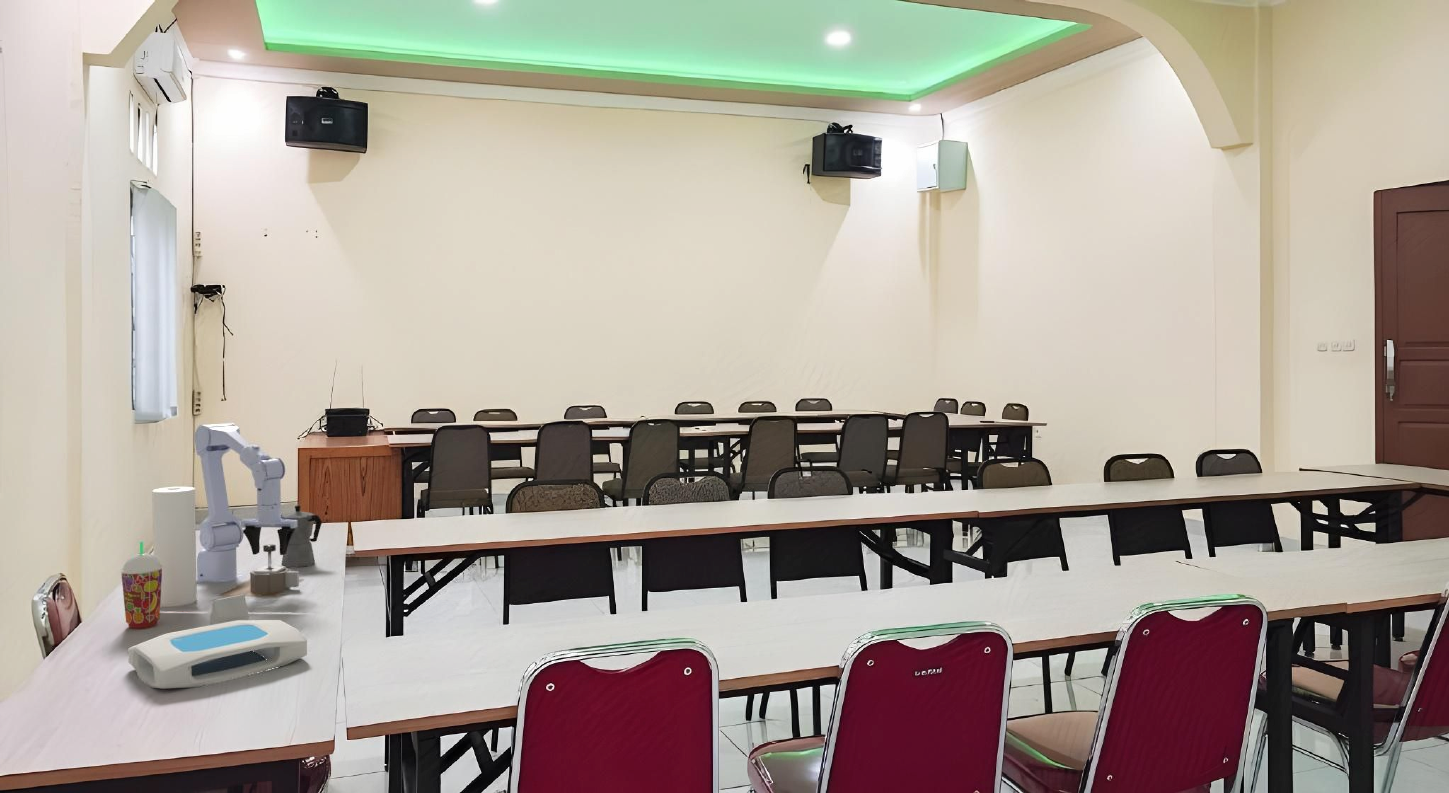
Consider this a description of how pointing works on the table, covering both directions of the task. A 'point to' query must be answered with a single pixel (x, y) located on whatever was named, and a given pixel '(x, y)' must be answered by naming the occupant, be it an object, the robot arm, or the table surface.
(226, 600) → the tea bag
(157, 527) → the cylinder container
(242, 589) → the board
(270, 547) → the plunger
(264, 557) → the table surface
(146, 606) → the smoothie
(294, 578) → the grey faceted block
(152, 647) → the document scanner
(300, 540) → the coffeepot
